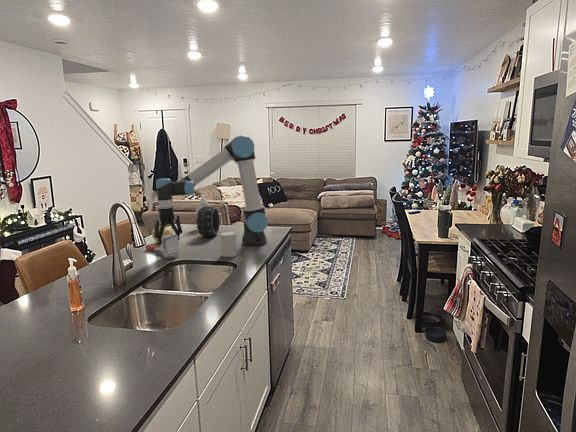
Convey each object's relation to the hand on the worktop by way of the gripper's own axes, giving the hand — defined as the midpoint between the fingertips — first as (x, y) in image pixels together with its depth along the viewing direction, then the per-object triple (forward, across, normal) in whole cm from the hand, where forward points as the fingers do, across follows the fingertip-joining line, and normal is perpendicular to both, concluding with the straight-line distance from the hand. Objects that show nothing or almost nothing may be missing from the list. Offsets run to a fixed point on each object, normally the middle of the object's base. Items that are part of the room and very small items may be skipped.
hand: (170, 248), depth 212 cm
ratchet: (+5, 0, -11) cm, 12 cm away
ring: (+5, -41, -25) cm, 49 cm away
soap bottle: (+5, -54, -48) cm, 72 cm away
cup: (+5, -24, +22) cm, 33 cm away
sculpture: (+6, -13, -34) cm, 36 cm away
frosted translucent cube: (+2, 0, 0) cm, 2 cm away
